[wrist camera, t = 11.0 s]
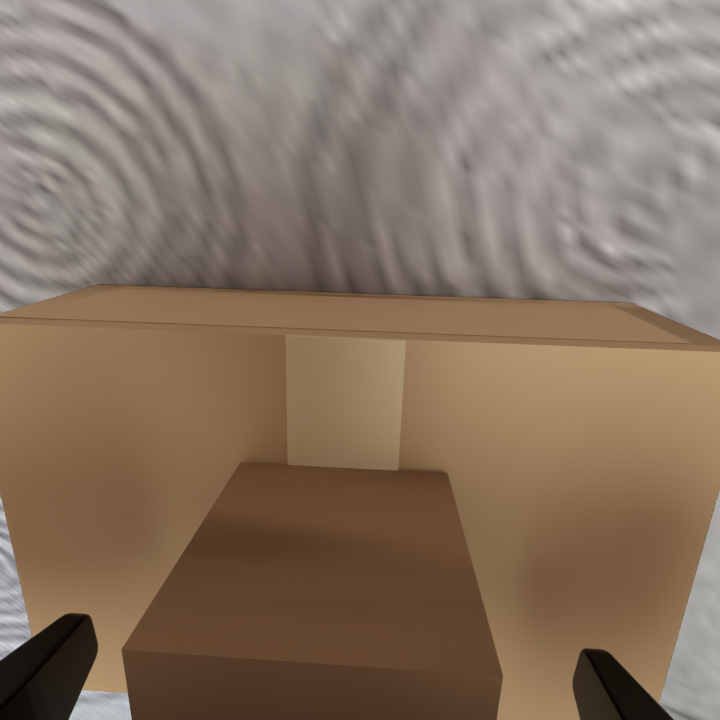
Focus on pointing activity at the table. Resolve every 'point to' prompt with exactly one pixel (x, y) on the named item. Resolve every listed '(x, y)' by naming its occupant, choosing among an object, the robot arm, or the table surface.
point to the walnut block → (319, 606)
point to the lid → (371, 451)
